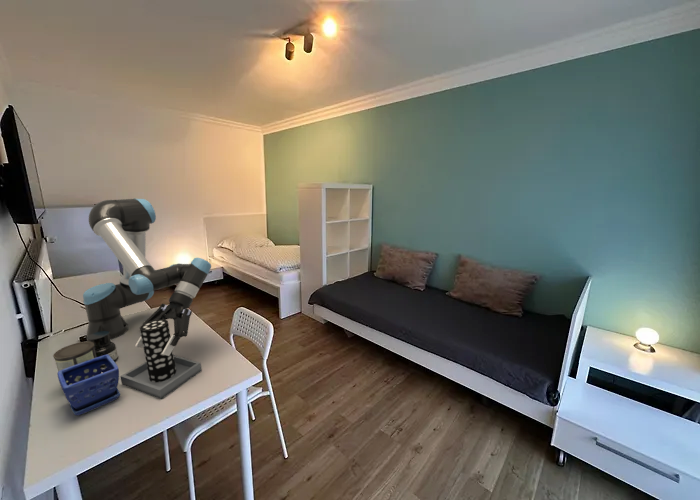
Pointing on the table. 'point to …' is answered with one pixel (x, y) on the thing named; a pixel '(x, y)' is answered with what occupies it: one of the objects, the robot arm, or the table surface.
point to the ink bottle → (103, 345)
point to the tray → (142, 383)
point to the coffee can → (75, 356)
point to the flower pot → (90, 384)
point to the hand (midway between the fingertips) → (151, 351)
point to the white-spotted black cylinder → (157, 350)
